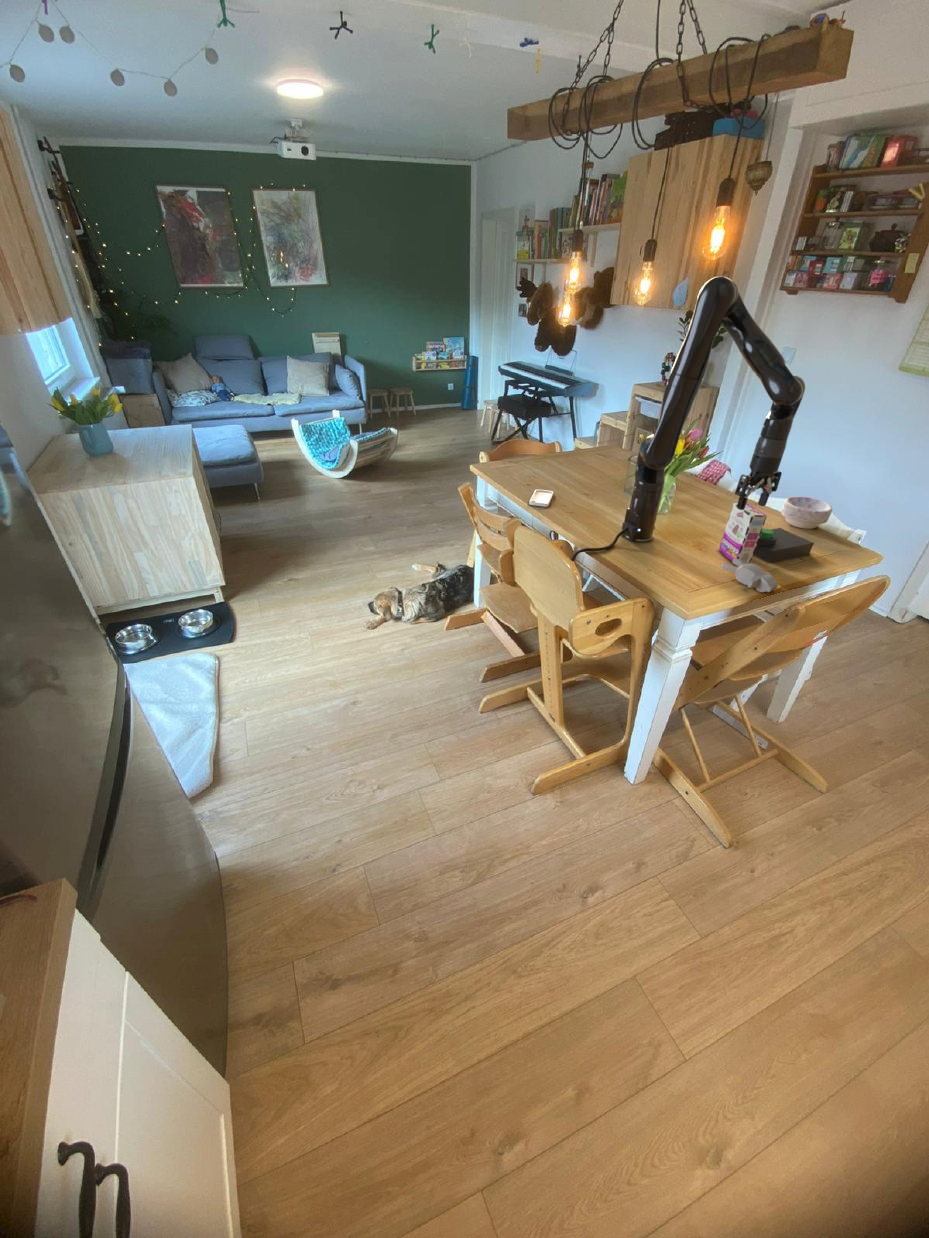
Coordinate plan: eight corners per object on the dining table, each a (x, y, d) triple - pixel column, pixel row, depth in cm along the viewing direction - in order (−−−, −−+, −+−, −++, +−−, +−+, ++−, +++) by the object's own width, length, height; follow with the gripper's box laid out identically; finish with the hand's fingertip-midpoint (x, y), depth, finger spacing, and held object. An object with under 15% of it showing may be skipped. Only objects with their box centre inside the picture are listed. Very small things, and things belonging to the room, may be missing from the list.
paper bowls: (795, 533, 187) (804, 511, 182) (769, 516, 199) (776, 496, 195) (834, 531, 189) (843, 510, 185) (805, 515, 202) (813, 495, 197)
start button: (765, 540, 167) (767, 534, 166) (755, 535, 170) (757, 529, 169) (774, 538, 169) (776, 532, 167) (764, 533, 172) (766, 527, 171)
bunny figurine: (768, 585, 145) (721, 559, 155) (760, 600, 149) (715, 573, 158) (786, 577, 150) (740, 551, 159) (778, 591, 153) (733, 566, 162)
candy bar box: (750, 565, 164) (768, 515, 155) (735, 566, 164) (752, 516, 155) (732, 550, 174) (748, 502, 165) (717, 550, 173) (732, 502, 164)
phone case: (547, 507, 202) (553, 494, 214) (548, 503, 201) (553, 491, 214) (528, 504, 204) (535, 492, 216) (529, 501, 203) (535, 489, 215)
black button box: (767, 562, 166) (774, 545, 163) (735, 546, 176) (741, 529, 173) (809, 554, 173) (816, 537, 169) (775, 538, 183) (782, 522, 179)
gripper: (775, 447, 156) (758, 500, 165) (739, 452, 151) (723, 506, 160) (797, 454, 150) (778, 508, 159) (760, 459, 146) (743, 514, 155)
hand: (750, 507), depth 160 cm, fingers open, 8 cm apart
